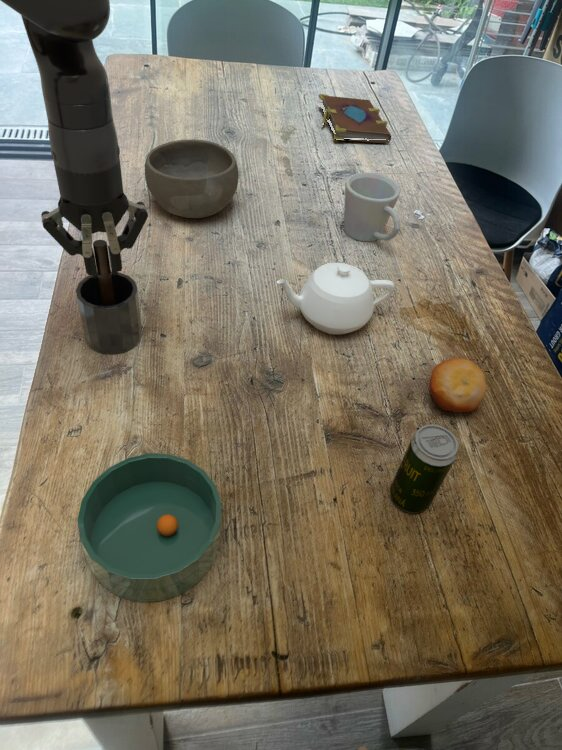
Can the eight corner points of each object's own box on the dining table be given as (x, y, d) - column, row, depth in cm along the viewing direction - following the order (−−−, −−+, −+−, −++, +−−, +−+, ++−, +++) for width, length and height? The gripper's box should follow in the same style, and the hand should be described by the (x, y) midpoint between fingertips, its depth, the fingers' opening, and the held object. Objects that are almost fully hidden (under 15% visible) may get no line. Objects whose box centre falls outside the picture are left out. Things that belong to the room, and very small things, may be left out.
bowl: (143, 184, 120) (139, 137, 113) (228, 181, 124) (229, 135, 117) (152, 231, 109) (148, 182, 102) (244, 226, 113) (247, 179, 106)
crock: (89, 359, 86) (80, 312, 79) (81, 321, 91) (72, 275, 84) (146, 349, 88) (142, 303, 82) (136, 313, 93) (131, 267, 87)
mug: (369, 213, 121) (380, 168, 114) (411, 253, 113) (426, 207, 105) (327, 222, 117) (335, 176, 110) (367, 264, 109) (379, 217, 101)
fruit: (468, 366, 90) (491, 354, 83) (470, 417, 89) (494, 409, 81) (417, 364, 90) (436, 352, 82) (419, 415, 88) (438, 407, 80)
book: (364, 106, 161) (369, 88, 157) (390, 149, 145) (395, 129, 141) (308, 101, 157) (311, 82, 154) (327, 144, 141) (331, 123, 137)
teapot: (278, 345, 92) (285, 294, 84) (266, 294, 100) (271, 245, 92) (397, 338, 95) (414, 290, 88) (376, 290, 104) (389, 242, 96)
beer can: (417, 475, 77) (445, 418, 68) (437, 509, 74) (469, 455, 65) (381, 484, 76) (405, 427, 67) (400, 520, 72) (427, 465, 64)
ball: (159, 542, 66) (158, 532, 65) (155, 524, 68) (154, 513, 66) (180, 536, 67) (179, 526, 65) (175, 518, 69) (174, 508, 67)
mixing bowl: (96, 621, 61) (88, 598, 56) (78, 498, 70) (70, 471, 66) (236, 578, 65) (238, 554, 61) (201, 469, 75) (201, 441, 70)
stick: (108, 336, 88) (93, 247, 76) (106, 328, 89) (91, 240, 78) (120, 334, 89) (107, 246, 77) (118, 326, 90) (105, 238, 78)
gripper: (139, 136, 73) (148, 251, 85) (21, 144, 69) (49, 264, 81) (151, 165, 68) (159, 283, 81) (25, 175, 64) (54, 297, 76)
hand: (104, 273), depth 81 cm, fingers closed
